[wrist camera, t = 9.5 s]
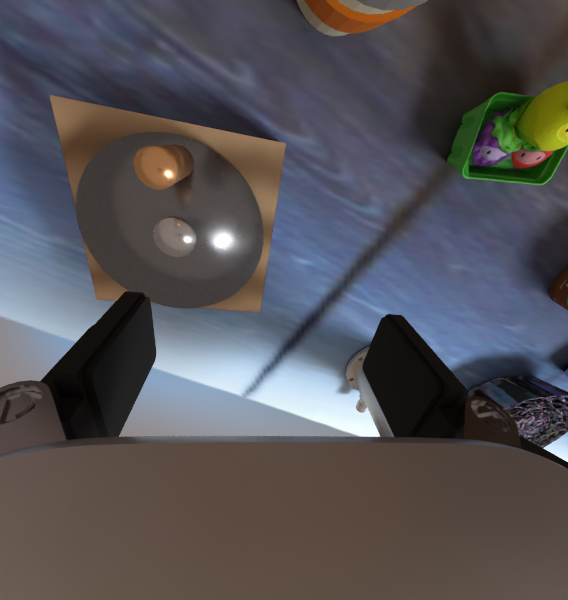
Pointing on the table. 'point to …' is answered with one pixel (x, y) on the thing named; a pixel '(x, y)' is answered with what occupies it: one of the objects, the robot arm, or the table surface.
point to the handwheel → (170, 219)
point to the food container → (560, 289)
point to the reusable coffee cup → (353, 14)
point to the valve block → (234, 147)
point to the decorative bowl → (529, 406)
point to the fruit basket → (513, 137)
